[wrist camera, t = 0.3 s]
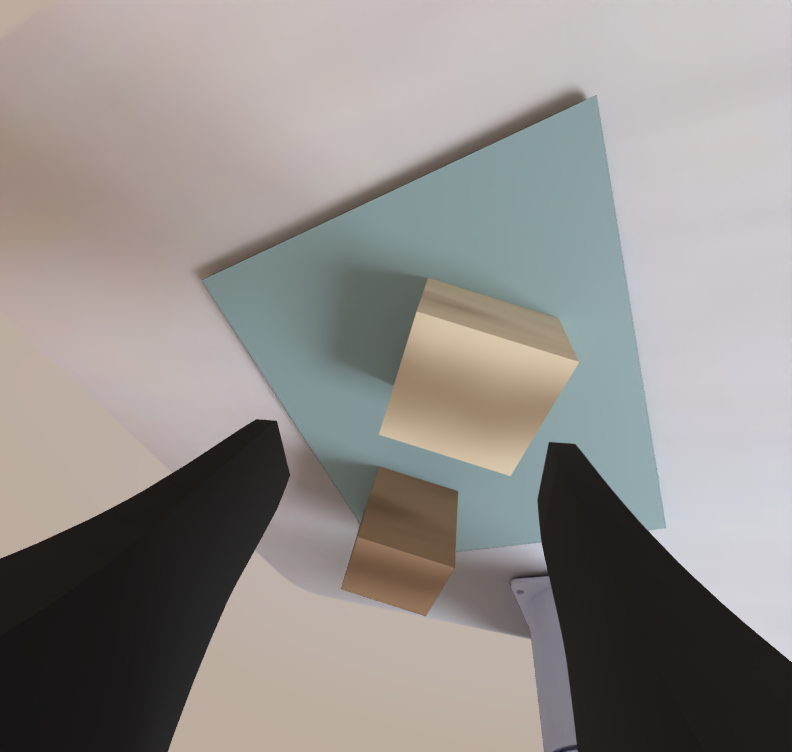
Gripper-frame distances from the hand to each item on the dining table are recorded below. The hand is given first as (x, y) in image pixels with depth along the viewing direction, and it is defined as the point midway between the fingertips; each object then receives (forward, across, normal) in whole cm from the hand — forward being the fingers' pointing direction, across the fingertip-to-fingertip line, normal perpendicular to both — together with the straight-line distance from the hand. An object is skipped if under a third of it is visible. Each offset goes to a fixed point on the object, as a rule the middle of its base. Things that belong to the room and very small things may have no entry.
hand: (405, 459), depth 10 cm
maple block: (+9, -2, +2) cm, 9 cm away
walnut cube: (+9, +2, +12) cm, 16 cm away
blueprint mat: (+10, -1, +5) cm, 11 cm away
